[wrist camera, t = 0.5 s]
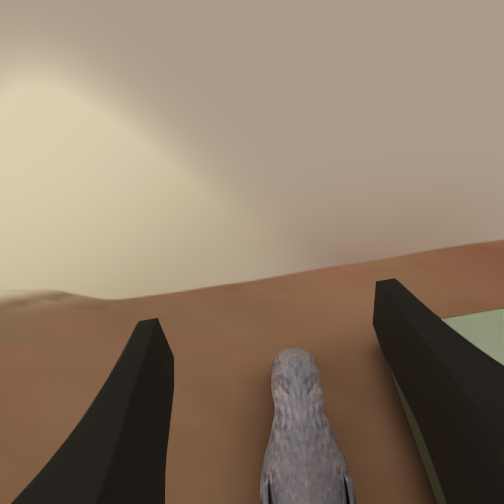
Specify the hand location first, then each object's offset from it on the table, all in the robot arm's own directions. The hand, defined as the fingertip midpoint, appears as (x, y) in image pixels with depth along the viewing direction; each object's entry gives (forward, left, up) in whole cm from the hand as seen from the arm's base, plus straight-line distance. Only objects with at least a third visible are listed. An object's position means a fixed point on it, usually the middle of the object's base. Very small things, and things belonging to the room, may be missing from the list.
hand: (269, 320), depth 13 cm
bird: (-3, -1, -18) cm, 19 cm away
